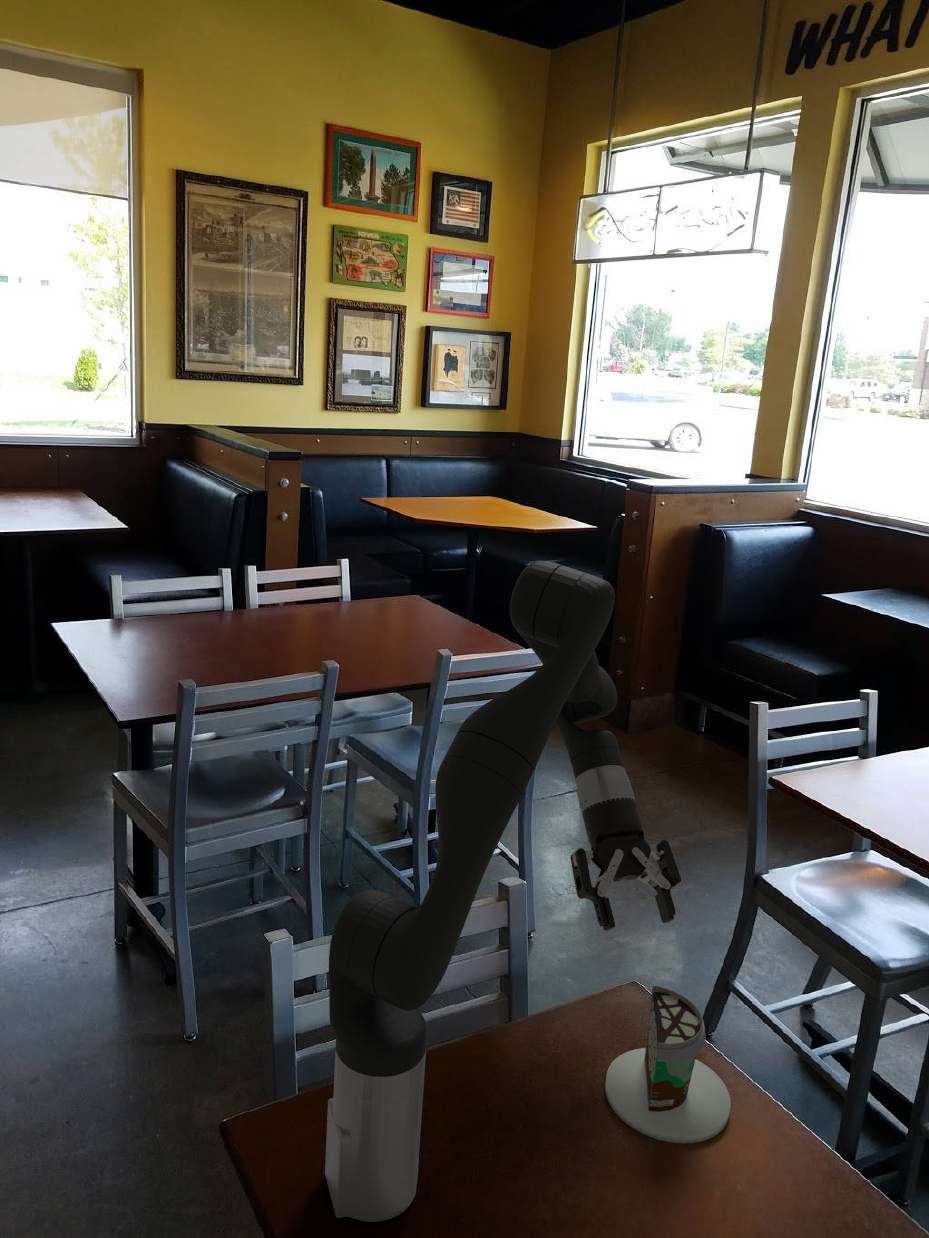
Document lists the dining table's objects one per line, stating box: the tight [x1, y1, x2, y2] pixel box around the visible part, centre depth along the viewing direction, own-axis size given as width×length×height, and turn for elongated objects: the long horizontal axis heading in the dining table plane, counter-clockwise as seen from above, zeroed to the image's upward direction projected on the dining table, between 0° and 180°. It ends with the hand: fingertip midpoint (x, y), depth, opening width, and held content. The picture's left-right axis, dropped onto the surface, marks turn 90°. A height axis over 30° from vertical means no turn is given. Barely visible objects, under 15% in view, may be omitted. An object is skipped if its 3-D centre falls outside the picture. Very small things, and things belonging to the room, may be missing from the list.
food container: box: [645, 985, 707, 1112], centre depth 118 cm, size 12×6×10 cm, turn 173°
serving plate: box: [604, 1047, 732, 1145], centre depth 119 cm, size 15×15×1 cm
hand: (639, 925), depth 125 cm, fingers open, 8 cm apart
